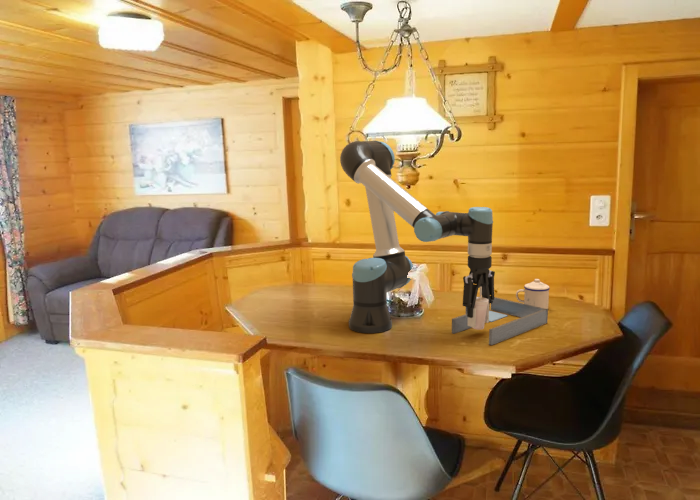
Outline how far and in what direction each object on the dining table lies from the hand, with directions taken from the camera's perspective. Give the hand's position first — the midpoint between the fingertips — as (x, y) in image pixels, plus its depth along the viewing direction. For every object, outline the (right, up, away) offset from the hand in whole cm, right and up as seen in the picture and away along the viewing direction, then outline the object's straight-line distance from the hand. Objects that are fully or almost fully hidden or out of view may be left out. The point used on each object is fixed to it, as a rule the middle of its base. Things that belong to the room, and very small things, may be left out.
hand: (478, 324), depth 181 cm
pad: (+8, 0, +20) cm, 22 cm away
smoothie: (0, -1, 0) cm, 1 cm away
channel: (+7, -2, +9) cm, 12 cm away
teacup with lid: (+27, +2, +27) cm, 38 cm away
